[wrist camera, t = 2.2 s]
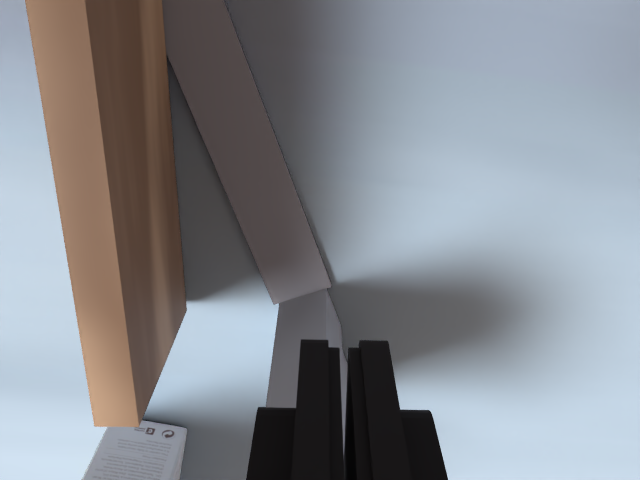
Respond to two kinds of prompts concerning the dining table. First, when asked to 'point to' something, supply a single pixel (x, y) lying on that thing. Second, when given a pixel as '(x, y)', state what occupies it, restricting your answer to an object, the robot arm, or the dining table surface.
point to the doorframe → (254, 184)
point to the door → (114, 189)
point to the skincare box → (139, 453)
